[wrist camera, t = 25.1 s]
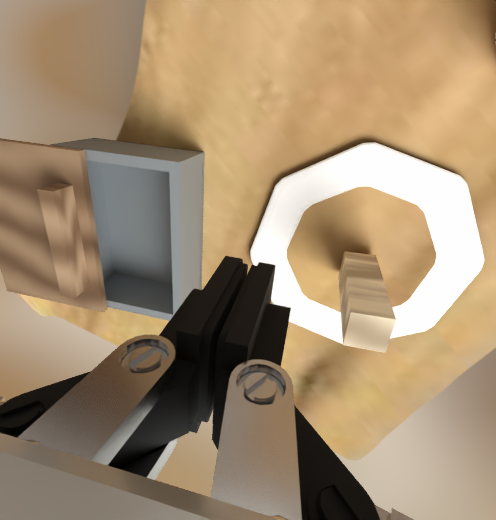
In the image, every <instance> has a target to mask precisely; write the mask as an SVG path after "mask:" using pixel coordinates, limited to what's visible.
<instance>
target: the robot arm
mask: <svg viewBox="0 0 496 520" xmlns="http://www.w3.org/2000/svg"><path fill="white" fill-rule="evenodd" d="M247 270H248V265H247V264H244V263H243V260H242V259H240V258H235V257H229V256H225V258H224V259H223V261H222V262H221V264H220V265H219V267H218V268H217V270H216V271H215V273H214V274H213V276H212V277H211V279H210V280H209V282H208V283H207V285H206V286H205V288H204V289H203V290H200V289H196V288H195V289H193V290H192V291H191V292H190V294H189V295H188V296H187V298H186V299H185V300H184V302H183V303H182V305H181V306H180V307H179V309H178V310H177V311H176V313H175V314H174V316H173V317H172V318H171V320H170V321H169V323H168V324H167V325H166V327H165V328H164V329H163V331H162V332H161V334H160V335H159V336H158V335H142V336H137V337H134V338H132V339H129V340H127V341H126V342H124V343H123V344H121V345H120V346H119V347H118V348H117V349H115V350H114V351H113V352H112V353H111V354H110V355H109V356H108V357H107V358H105V359H104V360H103V361H102V362H101V363H100V364H99V365H98V366H97V367H96V368H94V369H93V370H92V371H91V372H88V373H84V374H81V375H78V376H75V377H72V378H69V379H66V380H63V381H60V382H58V383H54V384H51V385H48V386H45V387H42V388H39V389H36V390H33V391H30V392H27V393H24V394H21V395H19V396H16V397H14V398H12V399H10V400H8V401H7V402H6V401H5V398H4V397H0V520H413V519H412V518H410V517H408V516H406V515H404V514H402V513H400V512H398V511H396V510H395V509H391V511H390V512H387V511H385V510H383V509H381V508H380V507H378V506H376V505H374V503H373V501H372V500H371V498H370V497H369V495H368V494H367V492H366V491H365V490H364V488H363V487H362V486H361V485H360V483H359V482H358V481H357V480H356V479H355V478H354V476H353V475H352V474H351V473H350V471H349V470H348V469H347V468H346V467H345V465H344V464H343V463H342V462H341V461H340V459H339V458H338V457H337V456H336V455H335V453H334V452H333V451H332V450H331V449H330V447H329V446H328V445H327V444H326V443H325V441H324V440H323V439H322V438H321V437H320V435H319V434H318V433H317V432H316V431H315V429H314V428H313V427H312V426H311V425H310V423H309V422H308V421H307V420H306V419H305V417H304V416H303V415H302V414H301V413H300V411H299V410H298V409H297V408H296V407H295V405H294V393H293V384H292V381H291V378H290V377H289V375H288V373H287V372H286V371H285V370H284V369H283V368H281V361H282V356H283V350H284V344H285V339H286V333H287V328H288V322H289V316H290V311H291V308H290V307H285V306H280V305H275V304H270V302H271V295H272V288H273V281H274V275H275V265H273V264H268V263H262V262H259V263H258V265H257V266H255V265H252V266H251V268H250V270H249V272H248V275H247ZM212 410H213V434H212V440H213V442H214V444H215V446H216V447H217V449H218V453H217V460H216V466H215V472H214V478H213V485H212V491H211V497H207V496H204V495H201V494H197V493H195V492H191V491H188V490H185V489H182V488H178V487H175V486H172V485H169V484H165V483H162V482H159V481H156V480H155V479H156V478H157V476H158V474H159V473H160V471H161V469H162V468H163V466H164V465H165V463H166V462H167V460H168V458H169V457H170V455H171V453H172V452H173V450H174V448H175V446H176V443H177V438H178V437H181V436H183V435H185V434H187V433H188V432H189V431H191V432H195V433H197V431H198V429H199V426H200V424H201V421H204V422H208V421H209V418H210V416H211V413H212Z"/></svg>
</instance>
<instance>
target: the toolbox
mask: <svg viewBox="0 0 496 520" xmlns="http://www.w3.org/2000/svg"><path fill="white" fill-rule="evenodd" d="M51 146H59V147H66V148H73V149H81V150H85V156H86V163H87V170H88V177H89V184H90V190H91V197H92V204H93V211H94V218H95V225H96V232H97V239H98V245H99V252H100V259H101V266H102V273H103V280H104V287H105V294H106V300H107V307H110V308H114V309H119V310H123V311H128V312H133V313H137V314H142V315H146V316H151V317H155V318H160V319H164V320H169V321H170V320H171V318H172V317H173V316H174V314H175V313H176V311H177V310H178V309H179V307H180V306H181V305H182V303H183V302H184V300H185V299H186V298H187V296H188V295H189V294H190V292H191V291H192V290H193V289H195V288H196V289H200V290H202V244H203V198H204V152H199V151H191V150H183V149H176V148H168V147H160V146H152V145H145V144H137V143H129V142H122V141H114V140H106V139H98V138H92V139H85V140H78V141H72V142H65V143H58V144H52V145H51Z"/></svg>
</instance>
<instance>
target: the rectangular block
mask: <svg viewBox="0 0 496 520" xmlns="http://www.w3.org/2000/svg"><path fill="white" fill-rule="evenodd" d="M339 290H340V306H341V321H342V337H343V345H346V346H352V347H357V348H362V349H368V350H373V351H379V352H384V353H385V352H386V349H387V346H388V343H389V340H390V337H391V333H392V330H393V327H394V324H395V321H396V318H395V315H394V312H393V309H392V305H391V302H390V299H389V296H388V293H387V290H386V286H385V283H384V280H383V277H382V274H381V271H380V267H379V264H378V261H377V258H376V255H369V254H361V253H354V252H346V251H344V254H343V259H342V264H341V269H340V273H339Z"/></svg>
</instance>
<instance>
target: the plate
mask: <svg viewBox="0 0 496 520" xmlns="http://www.w3.org/2000/svg"><path fill="white" fill-rule="evenodd" d="M364 186H370V187H373V188H375V189H378V190H380V191H383V192H386V193H388V194H391V195H393V196H396V197H398V198H401V199H403V200H406V201H409V202H411V203H414V204H416V205H418V207H419V208H420V209H421V210H422V211H423V212H424V213H425V217H426V220H427V224H428V227H429V230H430V234H431V237H432V240H433V244H434V247H435V251H436V254H437V256H436V261H435V265H434V266H433V267H432V269H431V270H430V272H429V273H428V274H427V276H426V277H425V278H424V280H423V281H422V282H421V284H420V285H419V287H418V288H417V289H416V291H415V292H414V293H413V295H412V296H411V297H410V299H409V300H408V301H406V302H405V303H403V304H401V305H400V306H396V307H392V309H393V312H394V315H395V318H396V321H395V324H394V327H393V330H392V333H391V337H390V338H394V337H399V336H404V335H409V334H414V333H419V332H424V331H426V330H428V329H430V328H432V327H433V326H434V325H435V324H436V323H437V321H438V320H439V319H440V318H441V317H442V316H443V314H444V313H445V312H446V311H447V310H448V308H449V307H450V306H451V305H452V304H453V302H454V301H455V300H456V299H457V298H458V297H459V295H460V294H461V293H462V292H463V291H464V289H465V288H466V287H467V286H468V285H469V284H470V282H471V281H472V280H473V279H474V278H475V276H476V275H477V274H478V273H479V272H480V270H481V269H482V266H483V263H484V260H485V259H484V255H483V250H482V246H481V242H480V237H479V233H478V229H477V224H476V220H475V215H474V211H473V207H472V202H471V198H470V194H469V189H468V185H467V183H466V182H465V181H464V180H463V178H462V177H461V176H460V175H457V174H455V173H452V172H450V171H447V170H445V169H442V168H440V167H437V166H434V165H432V164H429V163H427V162H424V161H422V160H419V159H417V158H414V157H411V156H409V155H406V154H404V153H401V152H399V151H396V150H394V149H391V148H389V147H386V146H383V145H381V144H378V143H376V142H370V143H361V144H359V145H357V146H355V147H352V148H350V149H348V150H345V151H343V152H341V153H339V154H336V155H334V156H332V157H329V158H327V159H325V160H323V161H320V162H318V163H316V164H313V165H311V166H309V167H307V168H304V169H302V170H300V171H297V172H295V173H293V174H291V175H288V176H286V177H284V178H282V179H281V180H280V181H279V182H278V183H277V184H276V185H275V188H274V190H273V193H272V195H271V198H270V201H269V203H268V206H267V208H266V211H265V214H264V216H263V219H262V221H261V224H260V227H259V229H258V232H257V234H256V237H255V239H254V242H253V245H252V247H251V250H250V257H251V261H252V263H253V265H255V266H257V265H258V263H259V262H262V263H268V264H273V265H275V275H274V281H273V288H272V295H271V301H272V303H273V304H275V305H280V306H285V307H290V308H291V311H290V316H289V322H291V323H294V324H296V325H299V326H301V327H303V328H306V329H308V330H310V331H313V332H315V333H318V334H320V335H322V336H325V337H327V338H329V339H332V340H334V341H337V342H339V343H341V344H343V337H342V321H341V313H340V312H338V311H336V310H333V309H331V308H329V307H326V306H324V305H322V304H319V303H317V302H315V301H312V300H310V299H308V298H307V297H306V296H305V295H304V294H303V293H302V292H301V289H300V287H299V285H298V283H297V280H296V278H295V276H294V274H293V272H292V269H291V267H290V265H289V263H288V260H287V247H288V245H289V243H290V241H291V239H292V237H293V235H294V232H295V230H296V228H297V226H298V224H299V222H300V219H301V217H302V215H303V213H304V211H305V210H306V209H308V208H309V207H310V206H311V205H312V204H315V203H317V202H320V201H322V200H325V199H327V198H330V197H333V196H335V195H338V194H340V193H343V192H345V191H348V190H351V189H353V188H356V187H364Z"/></svg>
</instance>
